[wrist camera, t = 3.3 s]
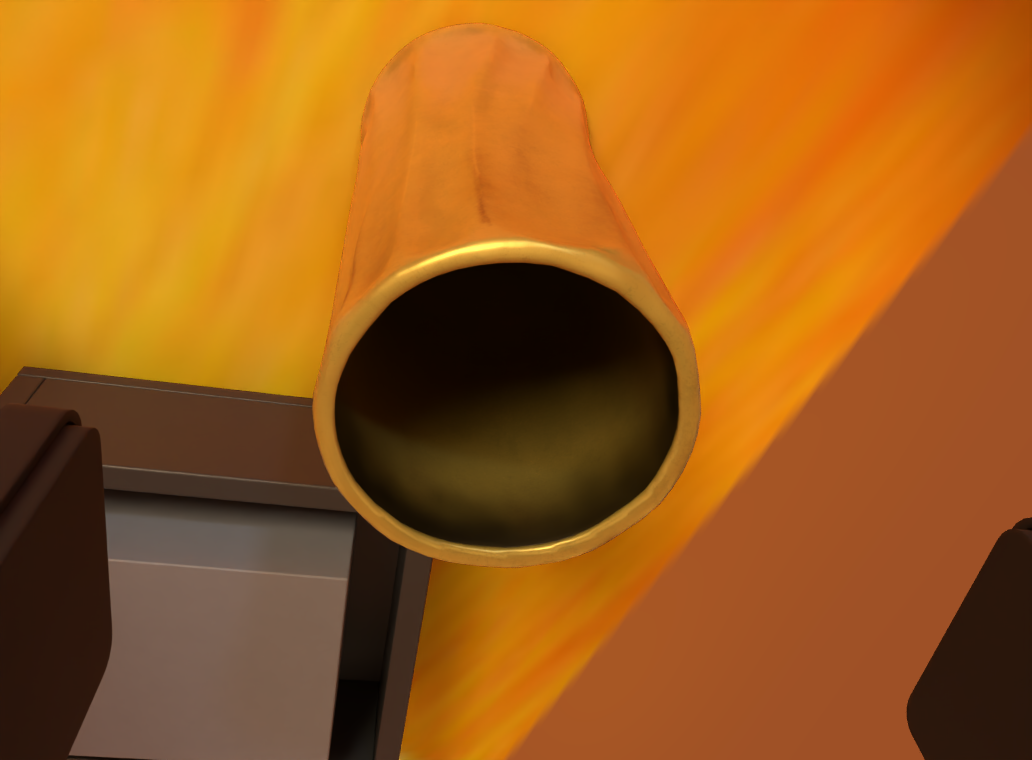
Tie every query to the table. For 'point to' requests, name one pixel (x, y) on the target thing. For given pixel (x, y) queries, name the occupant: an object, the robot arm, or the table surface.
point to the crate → (268, 480)
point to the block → (221, 629)
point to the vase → (497, 319)
